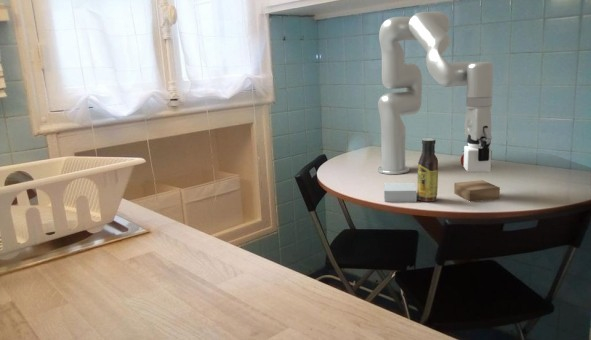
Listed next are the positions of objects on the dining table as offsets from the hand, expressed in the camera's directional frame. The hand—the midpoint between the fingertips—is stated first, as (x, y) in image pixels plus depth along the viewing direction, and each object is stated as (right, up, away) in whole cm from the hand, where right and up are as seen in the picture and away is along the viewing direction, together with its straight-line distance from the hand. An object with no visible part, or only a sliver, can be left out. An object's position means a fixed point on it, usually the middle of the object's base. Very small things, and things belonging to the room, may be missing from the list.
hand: (477, 157), depth 151 cm
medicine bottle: (0, -4, +1) cm, 4 cm away
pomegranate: (+13, -3, +41) cm, 43 cm away
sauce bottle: (-16, -14, +2) cm, 21 cm away
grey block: (-23, -13, +6) cm, 28 cm away
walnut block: (+1, -13, +3) cm, 13 cm away
